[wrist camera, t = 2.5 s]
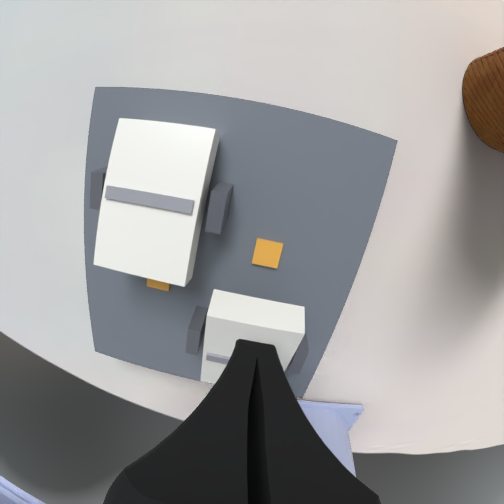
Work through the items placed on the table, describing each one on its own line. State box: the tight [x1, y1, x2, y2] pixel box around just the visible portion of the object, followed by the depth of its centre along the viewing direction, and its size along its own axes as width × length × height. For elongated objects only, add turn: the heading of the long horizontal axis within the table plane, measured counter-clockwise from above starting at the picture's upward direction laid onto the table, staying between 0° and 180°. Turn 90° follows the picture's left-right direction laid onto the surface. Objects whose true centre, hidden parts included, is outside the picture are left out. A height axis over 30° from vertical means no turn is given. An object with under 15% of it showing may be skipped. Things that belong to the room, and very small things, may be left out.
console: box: [84, 87, 397, 398], centre depth 15 cm, size 16×14×5 cm
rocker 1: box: [94, 118, 220, 287], centre depth 12 cm, size 6×4×2 cm, turn 169°
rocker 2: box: [200, 289, 305, 384], centre depth 14 cm, size 6×4×2 cm, turn 169°
